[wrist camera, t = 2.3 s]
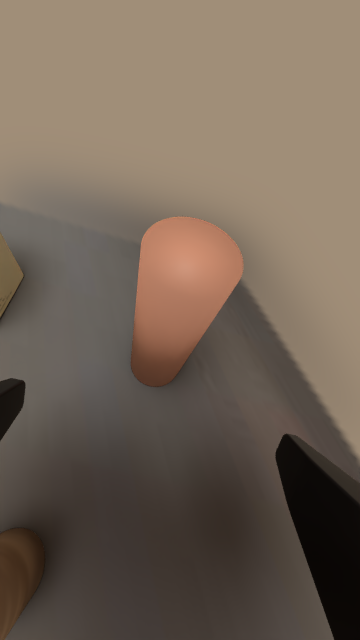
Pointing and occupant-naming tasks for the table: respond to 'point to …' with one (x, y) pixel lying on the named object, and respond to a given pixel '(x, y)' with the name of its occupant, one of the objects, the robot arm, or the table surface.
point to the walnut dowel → (18, 573)
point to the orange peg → (179, 293)
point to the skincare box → (8, 275)
